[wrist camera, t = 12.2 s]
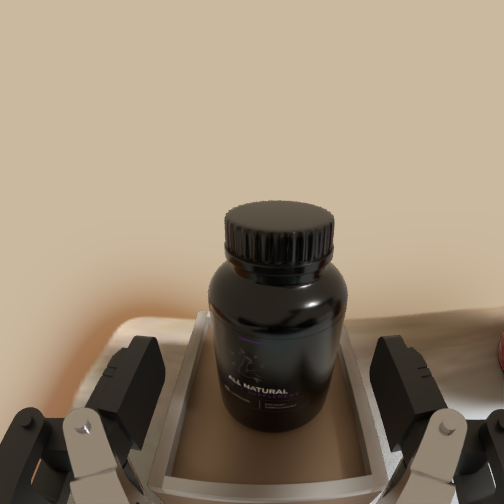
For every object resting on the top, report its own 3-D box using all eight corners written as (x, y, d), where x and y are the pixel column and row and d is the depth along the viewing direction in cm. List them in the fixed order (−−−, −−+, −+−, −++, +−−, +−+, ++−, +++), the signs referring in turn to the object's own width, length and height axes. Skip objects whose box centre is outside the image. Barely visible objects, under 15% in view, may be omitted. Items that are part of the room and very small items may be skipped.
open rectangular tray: (331, 359, 27) (339, 309, 24) (359, 512, 12) (389, 483, 10) (207, 360, 28) (199, 311, 25) (175, 513, 13) (147, 485, 11)
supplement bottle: (234, 448, 14) (205, 253, 9) (214, 369, 20) (192, 202, 15) (345, 418, 15) (388, 229, 10) (305, 350, 21) (314, 190, 17)
